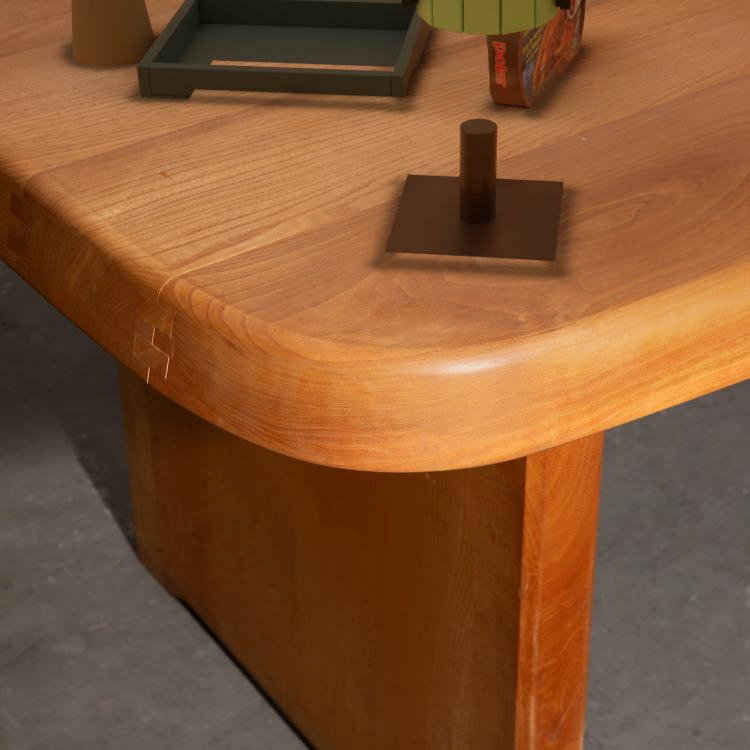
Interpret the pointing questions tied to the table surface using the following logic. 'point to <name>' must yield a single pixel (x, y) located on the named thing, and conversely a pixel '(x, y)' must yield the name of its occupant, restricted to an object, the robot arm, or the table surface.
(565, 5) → the robot arm
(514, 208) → the stand
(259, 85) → the tray
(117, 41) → the cork
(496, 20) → the ring
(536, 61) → the tin
